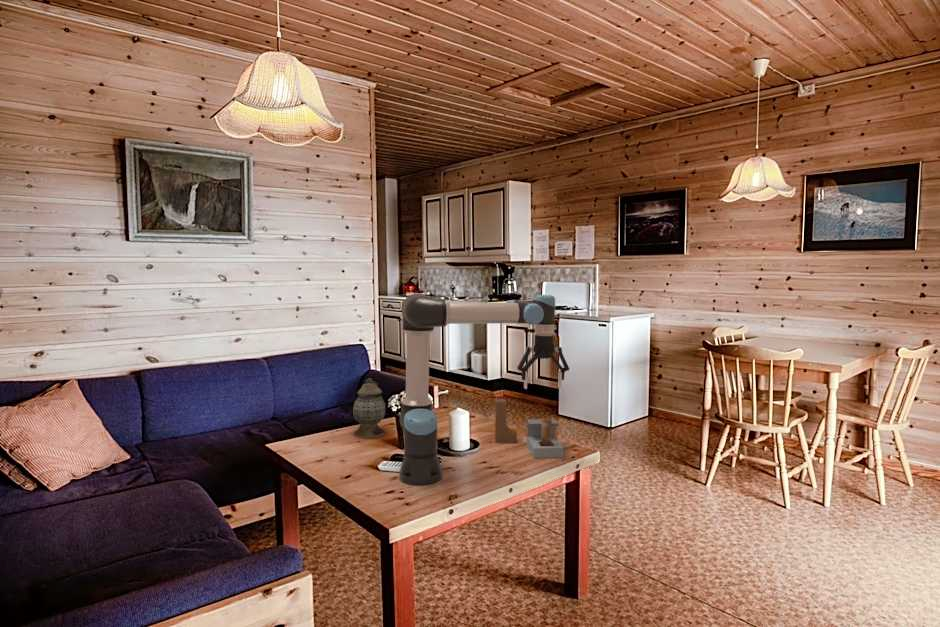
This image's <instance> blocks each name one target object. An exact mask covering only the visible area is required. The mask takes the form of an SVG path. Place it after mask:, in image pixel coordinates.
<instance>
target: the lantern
mask: <svg viewBox="0 0 940 627" xmlns="http://www.w3.org/2000/svg"><path fill="white" fill-rule="evenodd" d="M378 384H379V383H377V382H376V381H374V380H373V379H372V378H370V377H369V378H366V380H365V381H364V382H363V384H362V386H361V388H359V390H358V391H357V392H356V394H357V398H356V399H355V401H354V404H353V407H352V412H353V413H352V415H353V417H354V419H355V421H356V422H357V423H358V424H360V426H359V427H358V428H357V429H356V430H355V431H354V432H353V436H354V437H355V438H358V439H368V440H369V439H375V438H376V439H377V438H380V437H382V436H383V435H384V434H385V431H384V429H383V428H381V427H380V426H379V424H380V423H381V421H382V420H383V419H384V417H385V415H386V405H385V401H384V399H383V396H382V394H383V390H382V389H381V388H380V387H378Z"/></svg>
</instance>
